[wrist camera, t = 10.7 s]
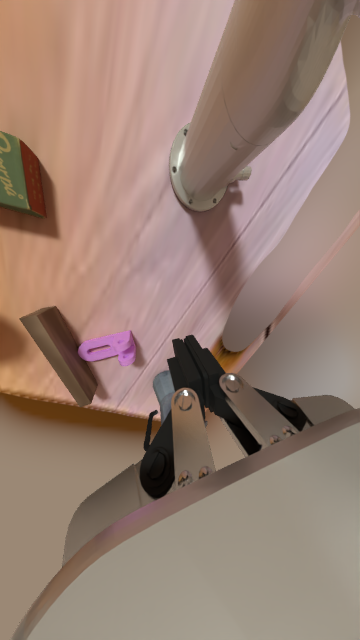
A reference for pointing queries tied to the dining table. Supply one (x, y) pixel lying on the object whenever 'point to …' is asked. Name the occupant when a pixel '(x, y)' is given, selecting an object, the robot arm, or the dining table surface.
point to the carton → (20, 177)
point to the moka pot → (161, 401)
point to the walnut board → (61, 352)
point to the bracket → (119, 346)
